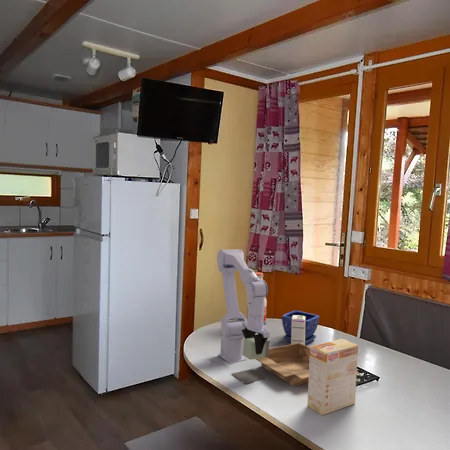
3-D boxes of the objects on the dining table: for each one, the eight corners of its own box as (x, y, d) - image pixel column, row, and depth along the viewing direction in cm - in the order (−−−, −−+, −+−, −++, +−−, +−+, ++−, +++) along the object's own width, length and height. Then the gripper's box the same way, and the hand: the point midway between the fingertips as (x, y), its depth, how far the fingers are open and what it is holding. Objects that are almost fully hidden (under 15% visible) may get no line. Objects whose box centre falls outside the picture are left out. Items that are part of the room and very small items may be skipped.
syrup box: (304, 353, 178) (305, 319, 177) (290, 351, 179) (291, 318, 178) (304, 348, 183) (306, 315, 182) (290, 347, 185) (292, 314, 184)
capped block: (242, 354, 153) (243, 338, 153) (260, 352, 157) (261, 336, 157) (250, 359, 149) (251, 343, 148) (268, 356, 153) (269, 340, 153)
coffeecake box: (339, 394, 141) (342, 338, 140) (356, 404, 135) (359, 344, 134) (306, 405, 133) (309, 345, 132) (322, 416, 127) (325, 353, 126)
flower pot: (293, 333, 203) (294, 309, 202) (319, 340, 195) (320, 314, 194) (279, 341, 192) (281, 315, 191) (306, 347, 184) (308, 321, 183)
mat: (231, 374, 154) (231, 373, 154) (252, 369, 159) (252, 368, 159) (245, 384, 147) (245, 383, 146) (266, 379, 151) (266, 378, 151)
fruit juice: (257, 325, 214) (259, 270, 212) (269, 330, 207) (271, 273, 205) (242, 328, 209) (244, 272, 207) (254, 333, 201) (257, 275, 199)
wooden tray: (252, 368, 160) (253, 351, 160) (299, 358, 172) (299, 342, 172) (291, 393, 141) (292, 375, 140) (341, 380, 152) (342, 362, 152)
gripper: (277, 318, 148) (275, 356, 149) (253, 308, 160) (251, 343, 161) (260, 320, 144) (259, 359, 145) (237, 310, 156) (236, 346, 157)
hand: (254, 351), depth 153 cm, fingers closed on capped block, 5 cm apart
